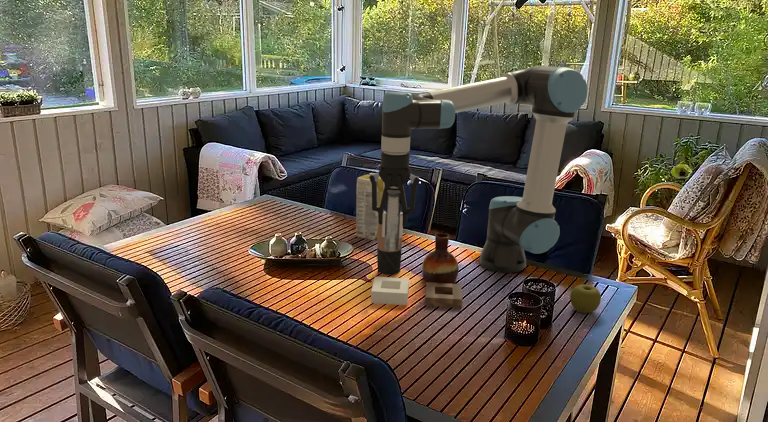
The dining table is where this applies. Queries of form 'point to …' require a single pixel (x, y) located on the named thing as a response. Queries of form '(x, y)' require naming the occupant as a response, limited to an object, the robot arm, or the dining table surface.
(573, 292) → the apple
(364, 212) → the juice carton
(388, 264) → the travel mug
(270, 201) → the dining table surface
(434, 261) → the vase
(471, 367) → the dining table surface
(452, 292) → the mount
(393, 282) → the socket
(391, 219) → the pin
